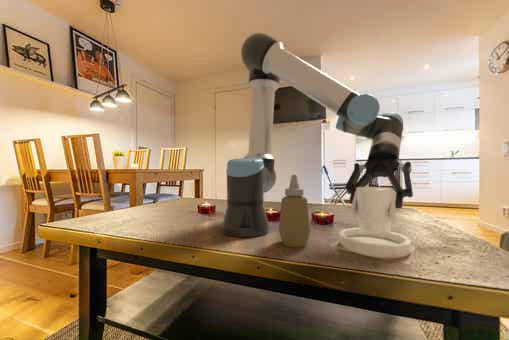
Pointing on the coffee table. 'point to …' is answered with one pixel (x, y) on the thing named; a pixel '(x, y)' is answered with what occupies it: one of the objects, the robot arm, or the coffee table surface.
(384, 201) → the white cup
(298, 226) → the squeeze bottle
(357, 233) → the dish
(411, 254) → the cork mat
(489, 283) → the coffee table surface
